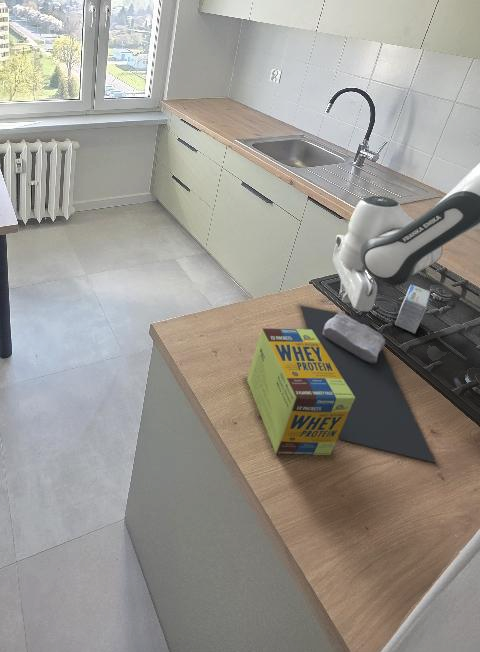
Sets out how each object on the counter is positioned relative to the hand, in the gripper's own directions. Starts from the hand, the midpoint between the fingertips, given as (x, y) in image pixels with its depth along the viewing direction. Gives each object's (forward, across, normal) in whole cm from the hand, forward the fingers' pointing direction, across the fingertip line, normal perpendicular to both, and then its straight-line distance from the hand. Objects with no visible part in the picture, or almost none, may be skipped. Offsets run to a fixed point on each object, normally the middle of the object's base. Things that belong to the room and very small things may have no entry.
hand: (344, 298), depth 108 cm
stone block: (+4, -10, 0) cm, 11 cm away
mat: (+4, -20, +2) cm, 20 cm away
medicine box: (+4, 0, -16) cm, 16 cm away
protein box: (+4, -35, +19) cm, 40 cm away
